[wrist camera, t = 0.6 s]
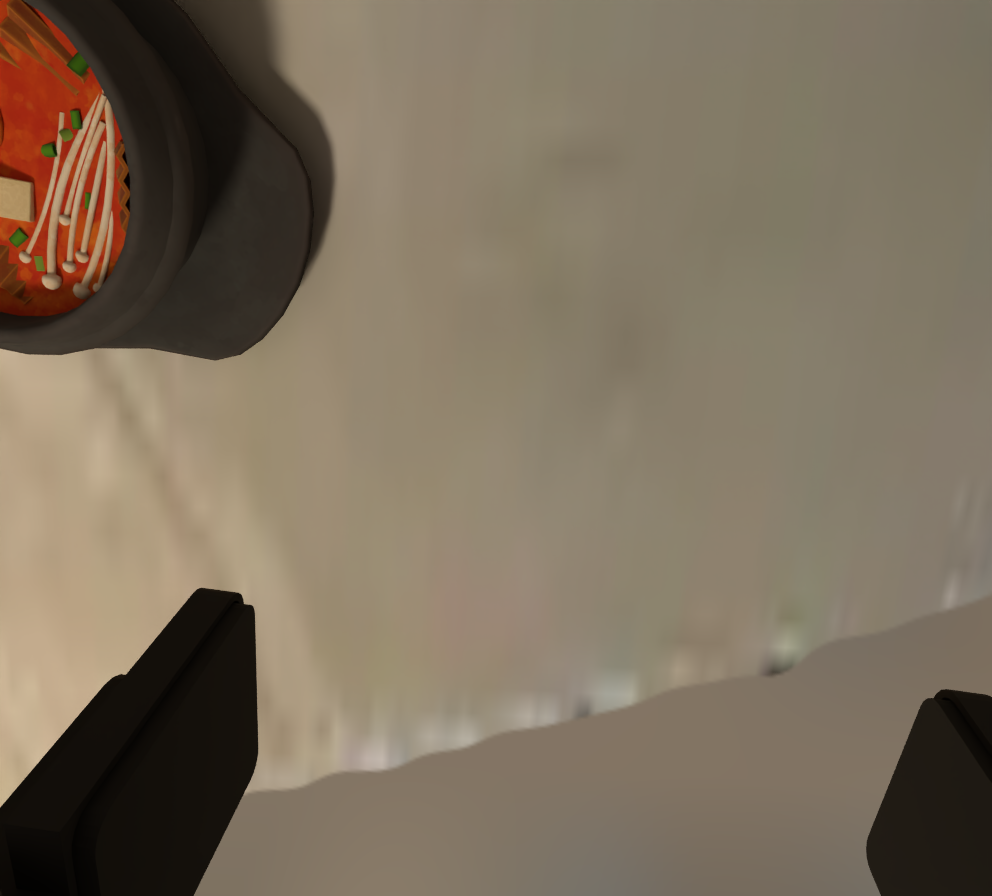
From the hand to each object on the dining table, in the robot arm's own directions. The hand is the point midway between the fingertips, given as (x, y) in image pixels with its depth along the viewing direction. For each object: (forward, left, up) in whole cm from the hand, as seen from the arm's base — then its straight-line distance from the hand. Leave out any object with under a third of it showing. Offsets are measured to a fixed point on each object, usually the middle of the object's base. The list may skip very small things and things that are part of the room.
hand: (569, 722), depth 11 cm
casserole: (-4, -25, -30) cm, 39 cm away
